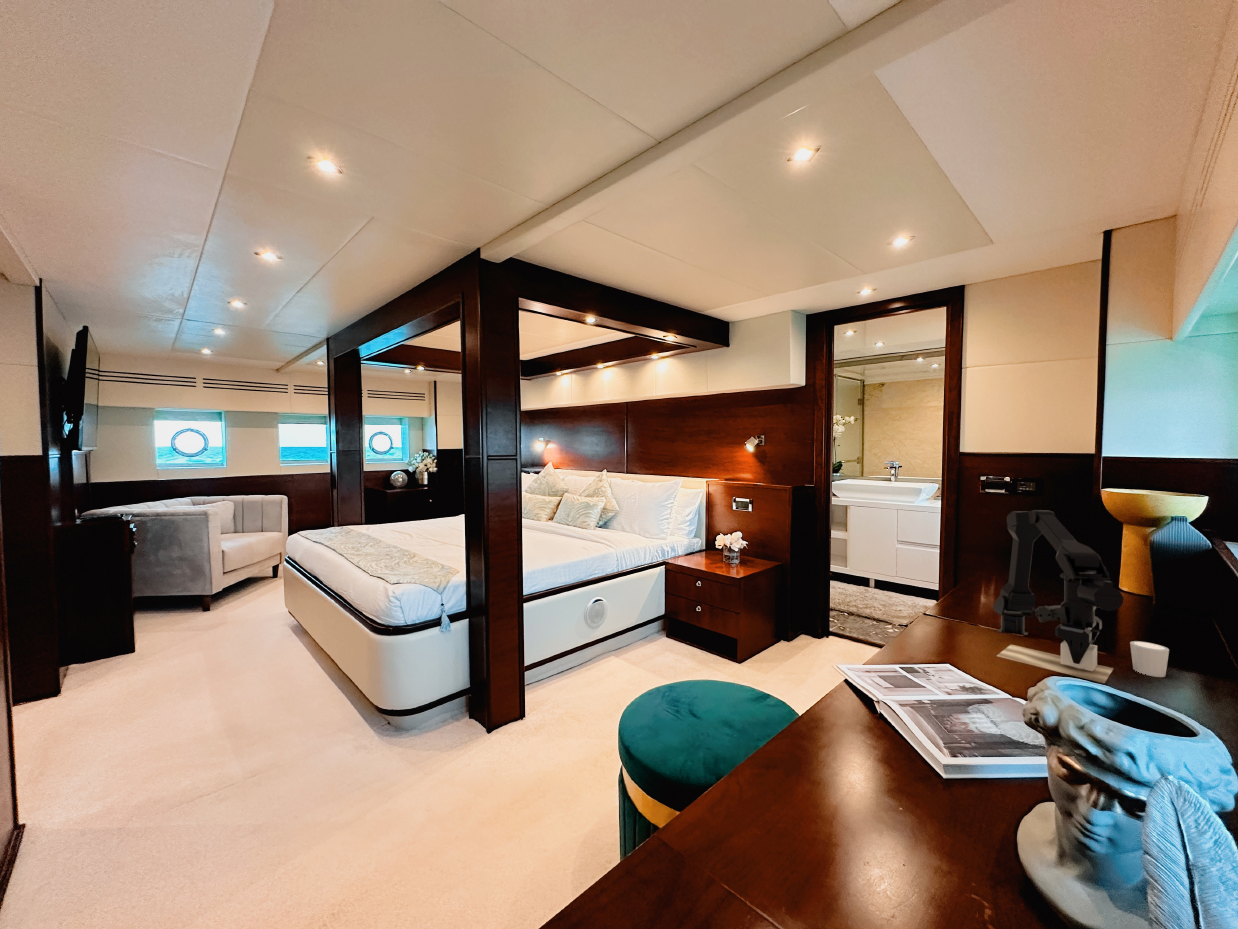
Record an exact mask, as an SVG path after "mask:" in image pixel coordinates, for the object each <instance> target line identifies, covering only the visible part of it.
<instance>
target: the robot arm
mask: <svg viewBox="0 0 1238 929" xmlns="http://www.w3.org/2000/svg"><path fill="white" fill-rule="evenodd" d="M1006 524H1007V526H1006V527H1007V530H1008V532H1009V534H1010V535H1011V536H1012V546H1011V555H1010V565H1009V574H1008V581H1007V583H1006V584H1004V586H1002V587H1001V589H1000V592H999V595H998V597H997V599H996V600H995V601H994V602H993V604H992V608H993V612H995V613H996V614H998V615H1000V616H1001V617H1000V618H1001V620H1000V626H1001V627H1000V628H999V629H998V630H997V633H1000V634H1001V633H1002V634H1014V635H1024V636H1025V635H1026V636H1027V635H1029V632H1028V631H1025V618H1027V617H1028V618H1033V615H1035V616H1034V617H1036V618H1038V621H1039V623H1046V622H1048V621H1051V622H1052V621H1059V622H1060V624H1058V625H1057V626H1056V627H1055V629H1054V632H1055V633H1054V635H1055V637H1058V638H1060V639H1062V640H1063V641H1064V640H1065V641H1066V642H1067V644H1068V647H1069V650H1070V654H1071V657H1072V660H1073V663H1076V664H1079V663H1080V662H1081V660H1082V658H1083V656H1084V655H1085V653H1086V651H1087V649H1088V647H1089V646H1090V644H1092V645H1094V644H1093V643H1094V642H1095V641H1096V638H1097V637H1098V635H1099V633H1100V630H1102V628H1103V622H1102V620H1101V618H1099V617H1098V616H1096V615H1095V614H1096V612H1095V611H1096V609H1097V608H1098V609H1100V610H1104V611H1106V612H1113V611H1116V610H1118V609H1120V608H1121V607H1122V605H1123V603H1124V597H1123V594H1122V592H1121V591H1120V590H1119V589H1117V588H1115V587H1114V582H1113V581H1111V577H1110V572H1109V571H1108V569H1107V568H1106V566H1105V564H1104V562H1103V560H1102V558H1101V557H1100V555H1099V554H1098V553H1097V552H1096V551H1095V550H1093V549H1092V548H1091V547H1090V546H1088V545H1085V544H1083V543H1081V542H1078V541H1077V540H1076V539H1075V538H1074V536H1073V535H1072V534H1071V533H1070V532H1069V531H1068V530H1067V528H1066V527H1065V526H1064V525H1063V524H1062V523H1061V522H1060V521H1059V519H1058V518H1057V517H1056V514H1055V512H1054V511H1051V510H1045V509H1044V510H1042V509H1038V510H1037V509H1034V510H1030V511H1029V510H1028V511H1021V510H1019V511H1018V510H1017V511H1016V510H1012V511H1011V512H1010V513H1008V514H1007V516H1006ZM1041 535H1043V536H1044V537H1045V538H1046V540H1047V541H1048V542H1049V544H1050V545H1051V546H1052V548H1053V549H1054V550H1055V552H1056V555H1055V560H1056V562H1057V563H1058V566H1059V567H1060V568H1061V570H1062V571H1063V572H1062V573H1060V575H1059V577H1060V578H1062V579H1063V583H1064V584H1063V586H1064V588H1063V590H1064V592H1063V595H1064V596H1063V601H1062V602H1061V603H1060V605H1059V604H1058V605H1050V606H1049V605H1044V606H1042V605H1041V606H1040V605H1039V606H1038V607H1037V608H1036V598H1037V597H1036V595H1035V594H1034V593H1033V592H1032V590H1031V588H1030V587H1029V585H1030V584H1029V583H1030V575H1031V566H1032V560H1033V558H1032V557H1033V551H1034V550H1033V549H1034V542H1035V541H1036V540H1037V539H1038V538H1039V537H1040V536H1041ZM1034 612H1035V614H1034ZM1094 627H1095V628H1096V629H1094Z"/></svg>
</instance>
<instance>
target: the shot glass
mask: <svg viewBox="0 0 1238 929" xmlns="http://www.w3.org/2000/svg"><path fill="white" fill-rule="evenodd" d="M1129 645H1130V646H1129V647H1130V654H1131V655H1130V656H1131V660H1132V670H1135V671H1134V672H1136V671H1137V673H1138V672H1139V673H1138V674H1141V673H1142V674H1141V675H1145V674H1146V675H1145V676H1150V677H1154V678H1165V677H1166V675H1167V667H1168V662H1169V661H1168V660H1169V654H1170V649H1169V648H1168V647H1166V646H1164V645H1160V644H1156V643H1153V642H1147V641H1140V640H1139V641H1138V640H1134V641H1130V642H1129Z"/></svg>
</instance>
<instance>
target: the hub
mask: <svg viewBox="0 0 1238 929" xmlns="http://www.w3.org/2000/svg"><path fill="white" fill-rule="evenodd" d="M1060 656H1061V661H1060V663H1061V664H1065V665H1069V666H1073V667H1077V668H1081V669H1085V670H1089V671H1093V670H1094V669H1095V667H1096V666H1097V665H1098V645H1095V644H1090V646H1089V647H1088V649H1087V651H1086V653H1085V655H1084V656H1083V658H1082V660H1081V662H1080V663H1079V664H1076V663H1073V660H1072V657H1071V654H1070V650H1069V647H1068V644H1067V642H1066V641H1065V640H1063V641H1062V642H1061V643H1060Z"/></svg>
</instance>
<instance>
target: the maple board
mask: <svg viewBox="0 0 1238 929" xmlns="http://www.w3.org/2000/svg"><path fill="white" fill-rule="evenodd" d="M996 657H998V658H1003V659H1007V660H1010V661H1013V662H1018V663H1019V662H1020V663H1023V664H1026V665H1030V666H1033V667H1038V668H1041V669H1046V670H1049V671H1054V672H1057V673H1062V674H1065V675H1069V676H1073V677H1078V678H1081V679H1086V680H1089V681H1093V682H1096V683H1100V684H1105V683H1106V682H1107V680H1108V678H1109V676H1110V675H1111V673H1112V672H1113V671H1114V667H1109V666H1105V665H1100V664H1097V666H1096V667H1095V669H1094V670H1093V671H1089V670H1085V669H1082V670H1077V669H1075V667H1073V666H1069V665H1065V664H1061V663H1060V661H1061V655H1058V654H1054V653H1050V652H1045V651H1041V650H1037V649H1033V648H1028V647H1024V646H1021V645H1020V646H1019V645H1014V644H1009V645H1008V646H1007V647H1006V648H1004V649H1003V650H1002V651H1000V652H999V653H998V654H997V655H996Z"/></svg>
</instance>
